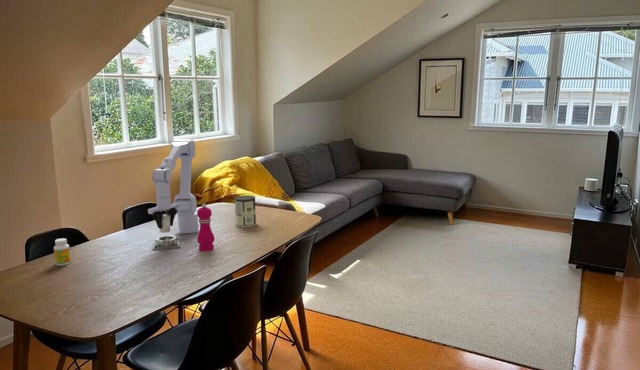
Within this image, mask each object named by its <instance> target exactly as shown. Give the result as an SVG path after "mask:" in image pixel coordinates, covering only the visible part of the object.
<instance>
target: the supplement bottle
mask: <svg viewBox="0 0 640 370" xmlns="http://www.w3.org/2000/svg"><path fill="white" fill-rule="evenodd" d="M54 244H55V245H54V246H53V255H54V260H55V261H54V262H55V265H56V266H67V265H70V264H71V263H72V260H71V251H70V250H71V249H70V245H69V244H68V240H67V238H64V237H63V238H56V239H55V240H54Z"/></svg>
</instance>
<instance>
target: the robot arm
mask: <svg viewBox="0 0 640 370" xmlns="http://www.w3.org/2000/svg"><path fill="white" fill-rule="evenodd" d="M195 157H196V142H195V141H194V140H193V139H175V138H174V139H172V140H171V143H170V152H169V154H168V156H166V157H164V158H163V160H162V161H161V163H160V165H159V166H158V168H156V169H154V170H153V172H152V175H151V177H152V181H153V185H154V187H155V193H156V194H155V196H156V206H154V207H151V208H148V209H147V213H148V215H151V216H152V217H153V219H154V220H155V224H156V226H157V228H158V229H159V230H160V229H162V217H163V214H164V213H161V212H164V211H165V212H166V214H169V215H171V218H170V227H173V226H174V220H175V217H176V215H177V222H178V223H177V227H178V228H177V235H182V234H193V233H199V229H200V223H199V217H198V216H197V212H196V211H197V208H198V207H197V206H198V205H197V198H196V196H195V195H194V194H193V193H191V189H192V186H191V185H192V166H193V165H192V163H193V159H194V158H195ZM178 158H179V159H180V175H179V177H180V179H179V180H180V182H179V183H180V184H179V193H178V194H176V195H175V196H174V201H173V203H172V201H171V187H170V186H171V185H170V182H171V181H172V178H173V177H172V176H173V171H174V169H175V168H176V165H177V162H176V161H177V160H178Z"/></svg>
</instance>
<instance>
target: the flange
mask: <svg viewBox="0 0 640 370" xmlns="http://www.w3.org/2000/svg"><path fill="white" fill-rule="evenodd" d="M180 242H181V239H180V238H178V237H177V236H176V235H173V234H172V235H167V234H166V235H160V236H158V237H156V238H155V240H153V245H152V251H160V250H168V249H170V250H172V249H180V248H181V243H180Z"/></svg>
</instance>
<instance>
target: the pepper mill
mask: <svg viewBox="0 0 640 370" xmlns="http://www.w3.org/2000/svg"><path fill="white" fill-rule="evenodd" d="M196 211H197V212H196V213H197V216H198V224H199V230H198V234H197V237H196V242H197V243H198V250H199V252H211V251H213V250H214V249H215V245H214V242H215V240H216V239H215V235H214V233H213V231H212V228H211V221H212V219H211V216H212V215H213V212H212V209H211V208H210V207H207V204H206V203H202V204H201V207H200V208H199V209H198V210H196Z"/></svg>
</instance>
